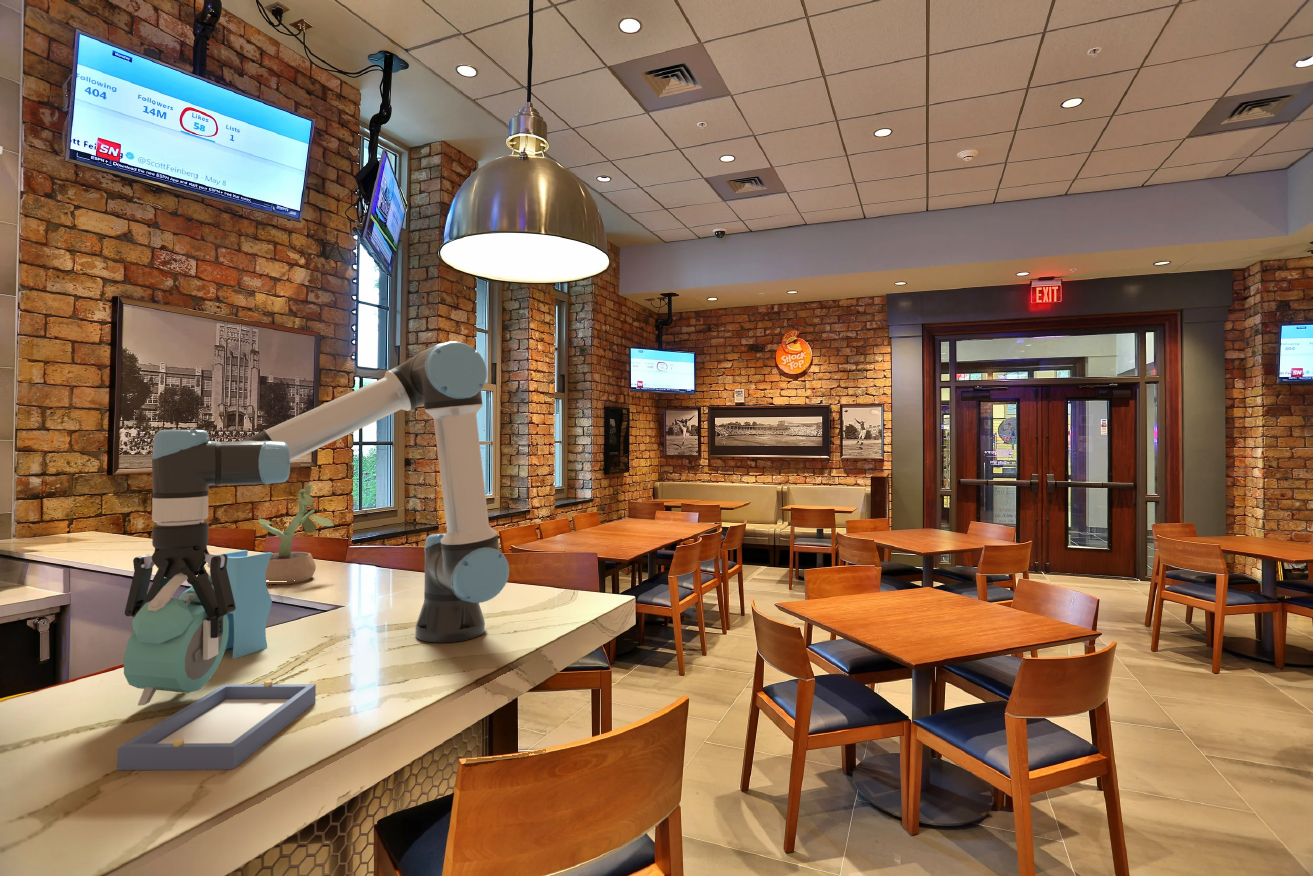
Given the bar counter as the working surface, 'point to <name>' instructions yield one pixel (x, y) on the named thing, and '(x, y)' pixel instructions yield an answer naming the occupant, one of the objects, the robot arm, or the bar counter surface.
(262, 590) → the vase
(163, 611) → the alarm clock
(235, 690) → the shallow rectangular tray
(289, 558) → the potted plant
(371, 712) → the bar counter surface
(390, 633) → the bar counter surface
